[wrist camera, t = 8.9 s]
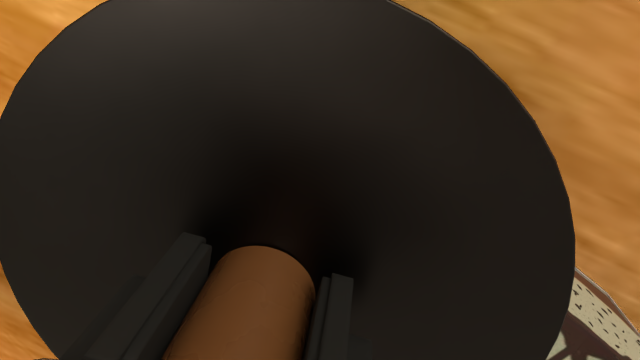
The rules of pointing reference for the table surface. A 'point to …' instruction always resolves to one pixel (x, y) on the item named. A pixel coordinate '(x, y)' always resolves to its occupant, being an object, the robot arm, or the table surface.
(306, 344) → the robot arm
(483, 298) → the lid
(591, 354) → the food container
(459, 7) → the table surface
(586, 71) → the table surface
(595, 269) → the table surface
